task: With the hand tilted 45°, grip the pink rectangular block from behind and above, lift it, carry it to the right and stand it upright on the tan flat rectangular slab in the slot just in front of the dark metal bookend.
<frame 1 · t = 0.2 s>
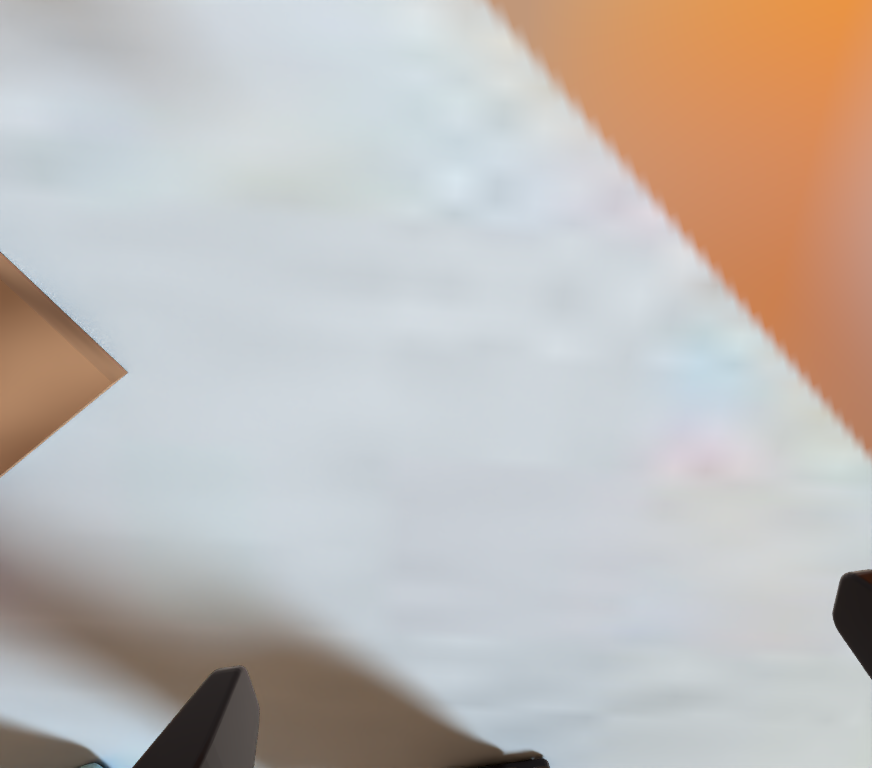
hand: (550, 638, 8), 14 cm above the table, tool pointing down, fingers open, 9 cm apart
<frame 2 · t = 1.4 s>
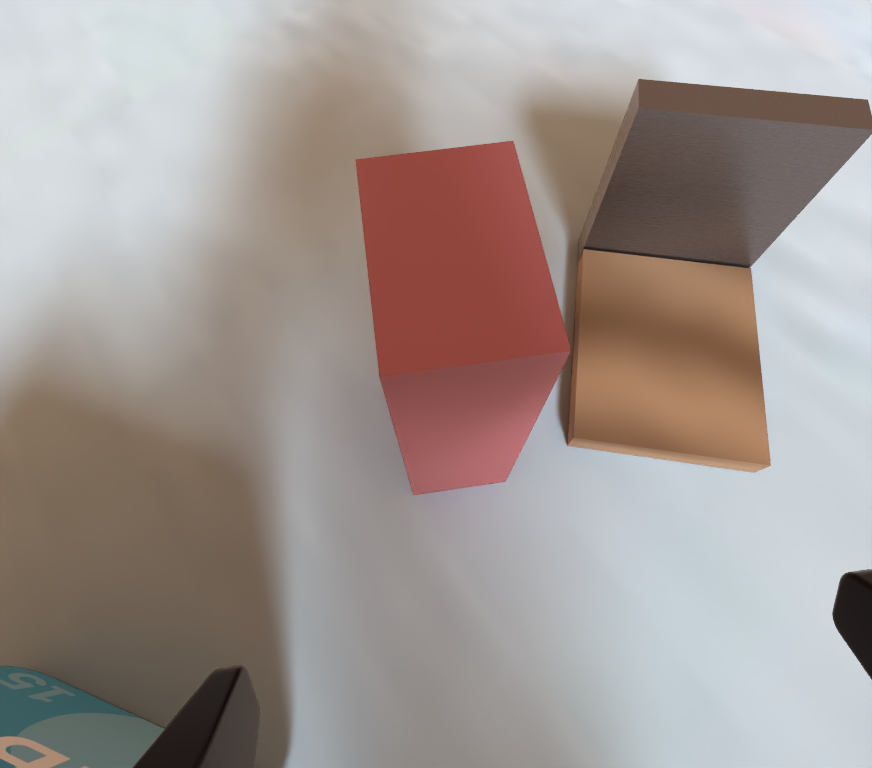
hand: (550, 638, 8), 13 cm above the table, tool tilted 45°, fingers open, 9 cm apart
metal bookend: (656, 259, 27), on the table
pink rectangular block: (449, 422, 23), on the table
tan flat rectangular slab: (658, 377, 24), on the table
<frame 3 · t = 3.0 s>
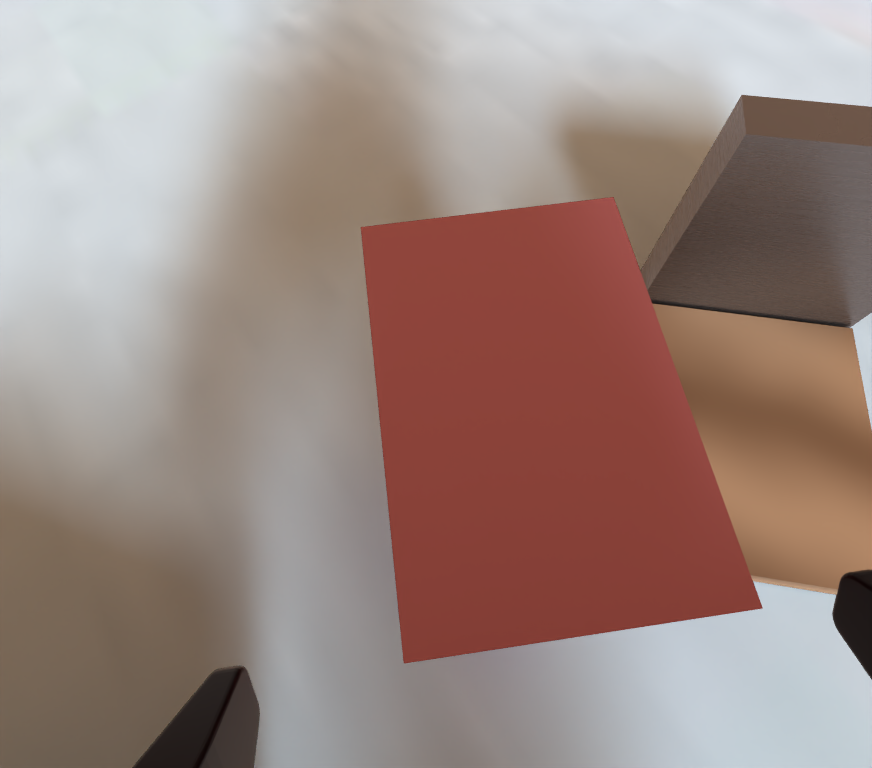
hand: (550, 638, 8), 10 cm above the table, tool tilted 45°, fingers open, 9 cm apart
metal bookend: (728, 312, 22), on the table
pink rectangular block: (476, 527, 18), on the table
tan flat rectangular slab: (740, 468, 19), on the table
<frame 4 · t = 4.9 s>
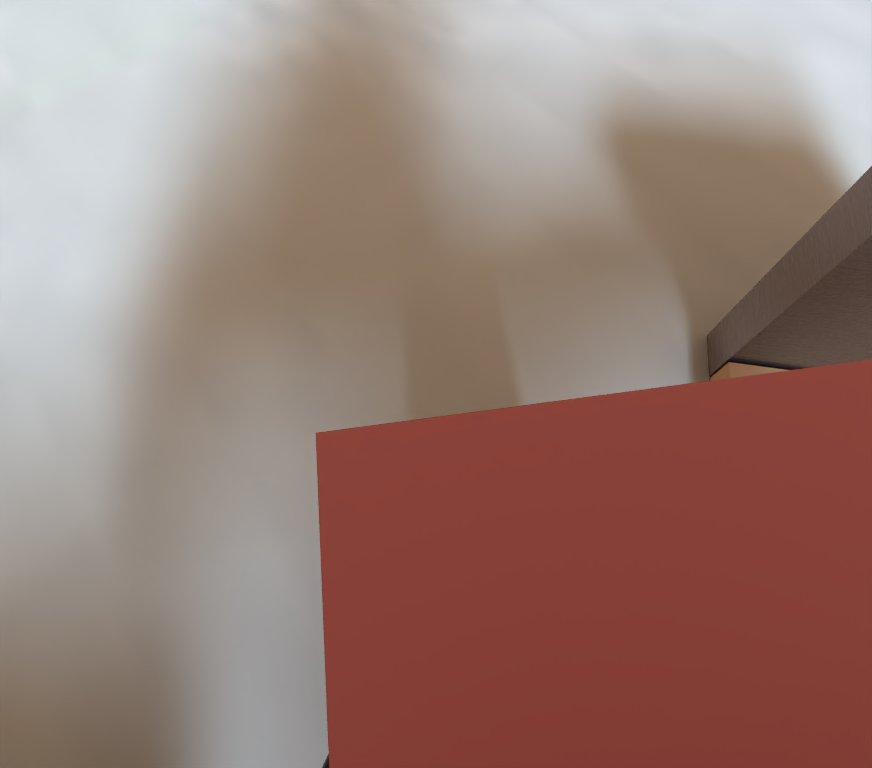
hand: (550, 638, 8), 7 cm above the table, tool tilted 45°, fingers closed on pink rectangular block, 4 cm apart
metal bookend: (836, 372, 16), on the table
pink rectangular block: (513, 684, 13), on the table, touching gripper
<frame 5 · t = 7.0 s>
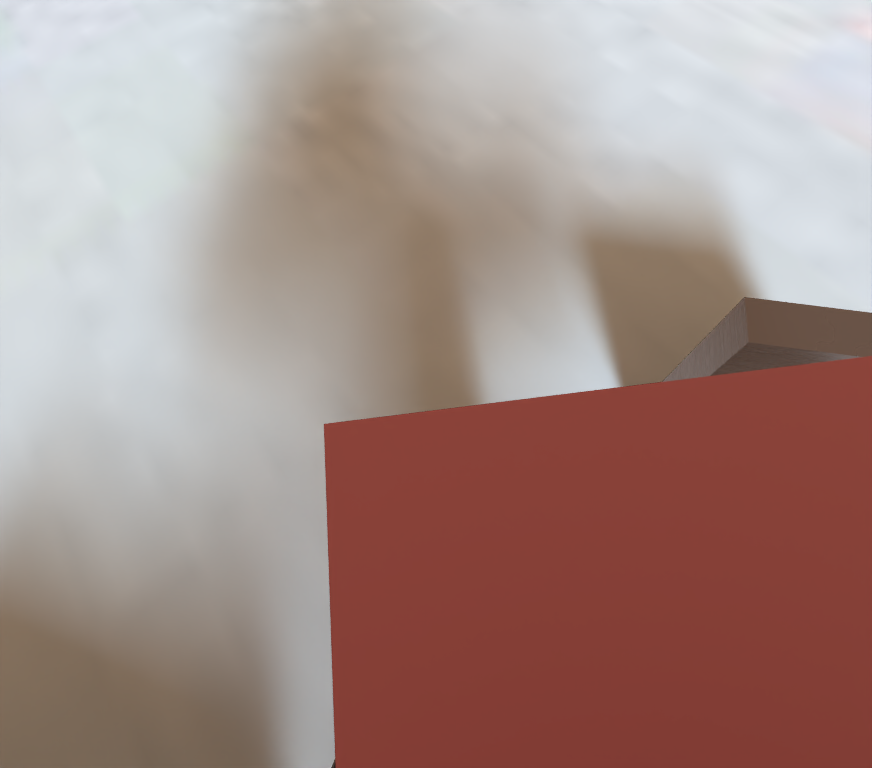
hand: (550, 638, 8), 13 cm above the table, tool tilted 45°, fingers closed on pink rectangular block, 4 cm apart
metal bookend: (729, 435, 23), on the table
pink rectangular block: (517, 685, 13), point 7 cm above the table, touching gripper
when the fingers open (10 cm above the table, at t = 9.6 s): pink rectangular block drops 2 cm, resting on tan flat rectangular slab.
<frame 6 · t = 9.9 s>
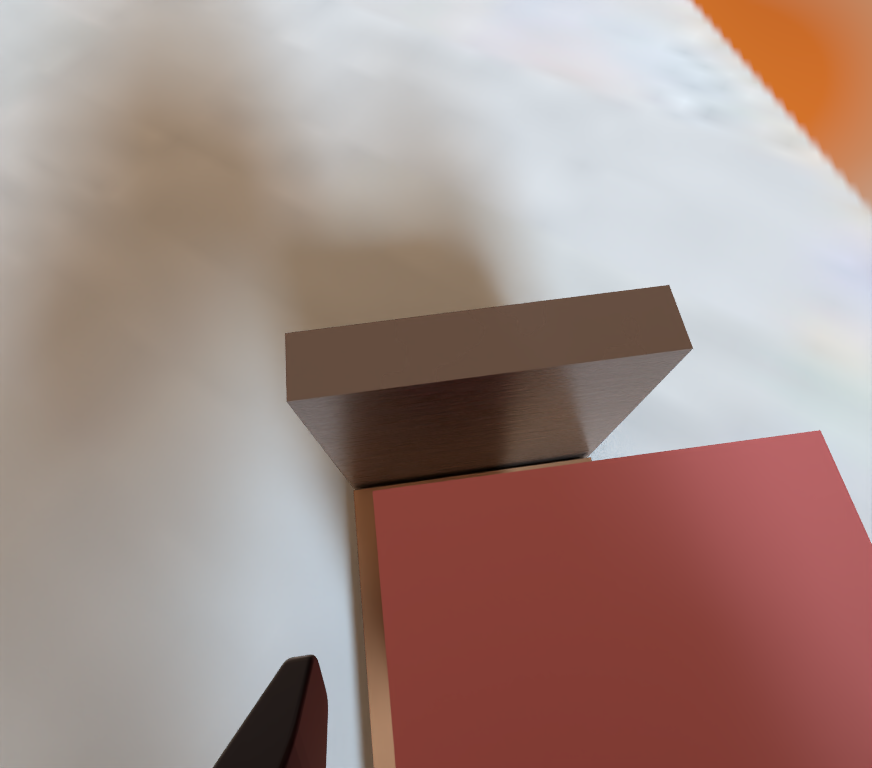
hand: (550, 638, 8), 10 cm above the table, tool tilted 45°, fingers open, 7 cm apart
metal bookend: (467, 458, 19), on the table
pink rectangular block: (505, 673, 15), point 1 cm above the table, touching tan flat rectangular slab
tan flat rectangular slab: (502, 669, 16), on the table
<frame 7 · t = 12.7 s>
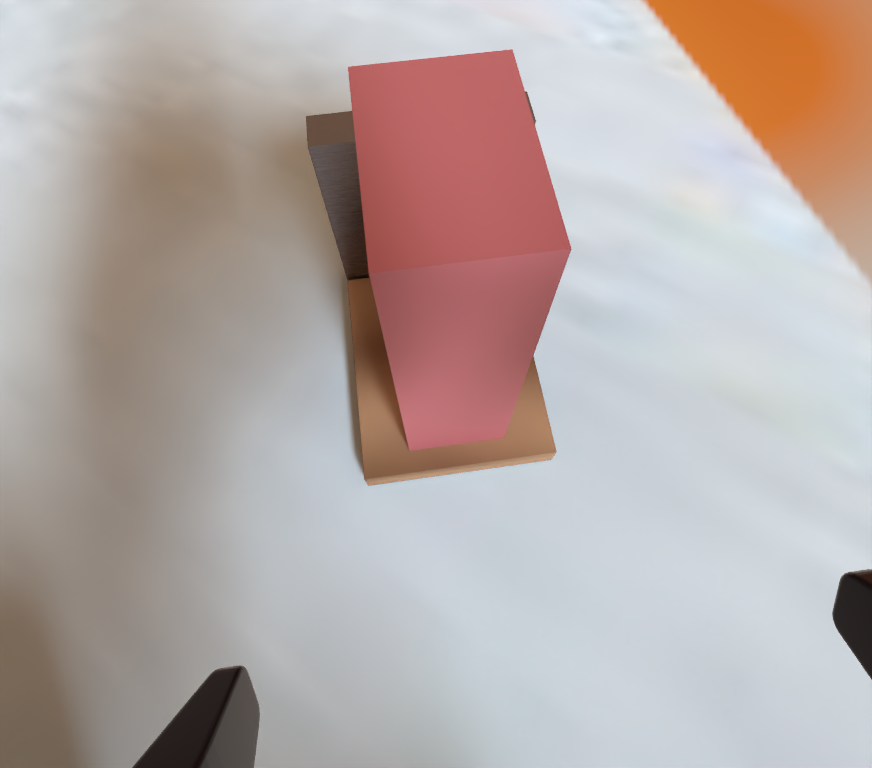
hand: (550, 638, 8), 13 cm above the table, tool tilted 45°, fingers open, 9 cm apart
metal bookend: (427, 270, 26), on the table
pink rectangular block: (446, 379, 23), point 1 cm above the table, touching tan flat rectangular slab
tan flat rectangular slab: (447, 390, 24), on the table
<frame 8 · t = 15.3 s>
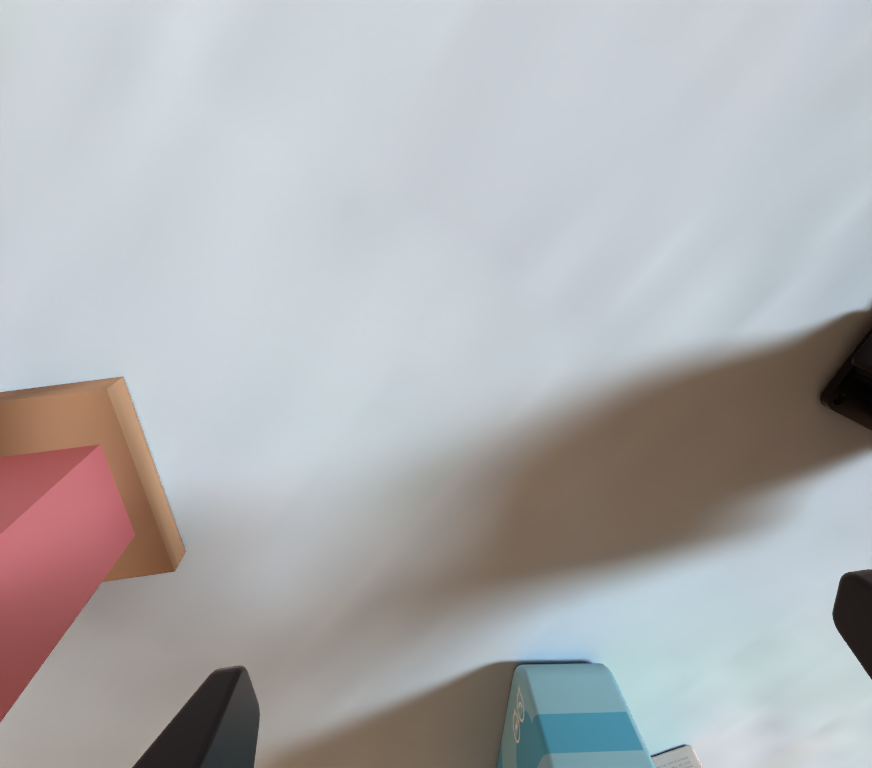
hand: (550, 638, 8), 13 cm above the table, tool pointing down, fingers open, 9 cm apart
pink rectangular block: (36, 502, 19), point 1 cm above the table, touching tan flat rectangular slab
tan flat rectangular slab: (56, 484, 20), on the table
data package: (540, 727, 28), on the table
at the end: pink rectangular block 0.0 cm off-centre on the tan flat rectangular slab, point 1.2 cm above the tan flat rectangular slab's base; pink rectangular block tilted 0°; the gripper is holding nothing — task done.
